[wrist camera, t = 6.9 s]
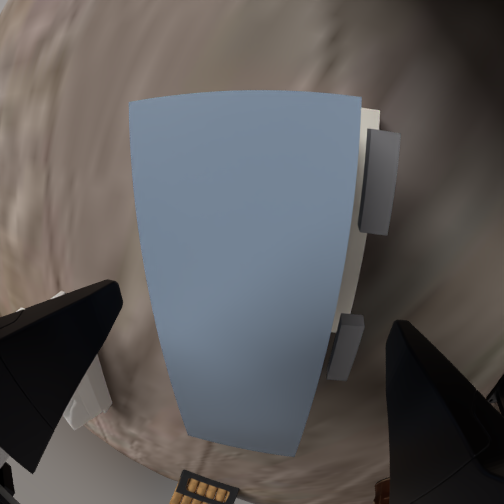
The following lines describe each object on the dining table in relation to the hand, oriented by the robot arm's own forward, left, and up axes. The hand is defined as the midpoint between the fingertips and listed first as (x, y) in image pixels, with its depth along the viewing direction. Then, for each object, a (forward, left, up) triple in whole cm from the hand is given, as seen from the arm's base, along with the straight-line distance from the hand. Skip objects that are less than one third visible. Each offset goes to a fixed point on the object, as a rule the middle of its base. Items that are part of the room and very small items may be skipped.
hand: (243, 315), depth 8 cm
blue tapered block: (0, 0, -4) cm, 4 cm away
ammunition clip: (-49, +9, -9) cm, 51 cm away
